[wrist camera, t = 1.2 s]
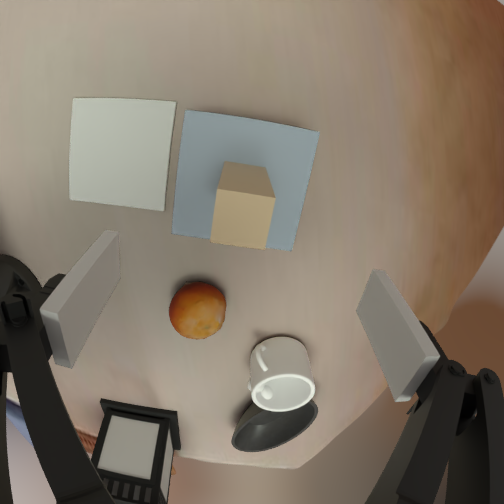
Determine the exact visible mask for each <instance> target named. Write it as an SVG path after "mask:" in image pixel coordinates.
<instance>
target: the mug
mask: <svg viewBox="0 0 504 504" xmlns="http://www.w3.org/2000/svg"><path fill="white" fill-rule="evenodd" d="M250 372H251V373H250V376H251V377H250V379H249V381H248V389H249V390H250V391H251V396H252V400H253V401H254V403H255V404H256V405H257V406H259V407H260V408H262V409H265V410H268V411H275V412H282V411H289V410H293V409H297V408H299V407H301V406H303V405H305V404H306V403H308V402H309V401H310V400H311V399H312V397H313V396H314V393H315V384H314V379H313V375H312V370H311V366H310V362H309V357H308V354H307V350H306V348H305V347H304V345H303V344H302V343H300V342H299V341H297V340H295V339H293V338H289V337H274V338H270V339H267V340H265V341H263V342H261V343H260V344H258V345H257V346H256V347H255V349H254V350H253V351H252V354H251V357H250Z"/></svg>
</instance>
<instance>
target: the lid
mask: <svg viewBox="0 0 504 504" xmlns="http://www.w3.org/2000/svg"><path fill="white" fill-rule="evenodd" d="M319 134H320V132H318V131H313V130H309V129H304V128H300V127H295V126H290V125H285V124H280V123H275V122H270V121H264V120H258V119H252V118H246V117H240V116H234V115H227V114H220V113H212V112H204V111H195V110H185V115H184V122H183V129H182V137H181V145H180V153H179V161H178V170H177V179H176V188H175V198H174V209H173V221H172V234H176V235H183V236H190V237H197V238H204V239H210V242H212V243H218V244H225V245H232V246H239V247H246V248H253V249H260V250H265V247H266V248H273V249H279V250H286V251H292V248H293V244H294V240H295V236H296V232H297V228H298V224H299V220H300V216H301V211H302V207H303V203H304V199H305V195H306V191H307V186H308V182H309V178H310V174H311V169H312V165H313V161H314V156H315V152H316V147H317V143H318V138H319Z"/></svg>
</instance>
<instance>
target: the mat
mask: <svg viewBox="0 0 504 504" xmlns="http://www.w3.org/2000/svg"><path fill="white" fill-rule="evenodd" d="M176 105H177V102H174V101H162V100H147V99H127V98H73V106H72V118H71V133H70V159H69V194H70V200H76V201H84V202H93V203H101V204H110V205H118V206H126V207H134V208H142V209H149V210H157V211H164V210H165V201H166V189H167V179H168V169H169V159H170V151H171V142H172V134H173V126H174V119H175V112H176Z"/></svg>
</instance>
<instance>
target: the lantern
mask: <svg viewBox="0 0 504 504" xmlns="http://www.w3.org/2000/svg"><path fill="white" fill-rule="evenodd" d="M100 404H101V407H102V409H103V412H104V414H105V415H104V418H103V421H102V424H101V428H100V431H99V434H98V437H97V441H96V444H95V448H94V451H93V454H92V458H91V462H92V464H93V465H94V467H95V469H96V471H97V473H98V474H99V476H100V478H101V480H102V481H103V483H104V485H105V486H106V488H107V490H108V491H109V493H110V495H111V496H112V498H113V499H114V501H115V502H116V504H167V503H168V495H169V486H170V477H171V469H172V461H173V454H174V450H181V444H180V436H179V427H178V418H177V411H171V410H164V409H157V408H150V407H144V406H138V405H132V404H127V403H122V402H116V401H111V400H107V399H102V398H101V400H100Z"/></svg>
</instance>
